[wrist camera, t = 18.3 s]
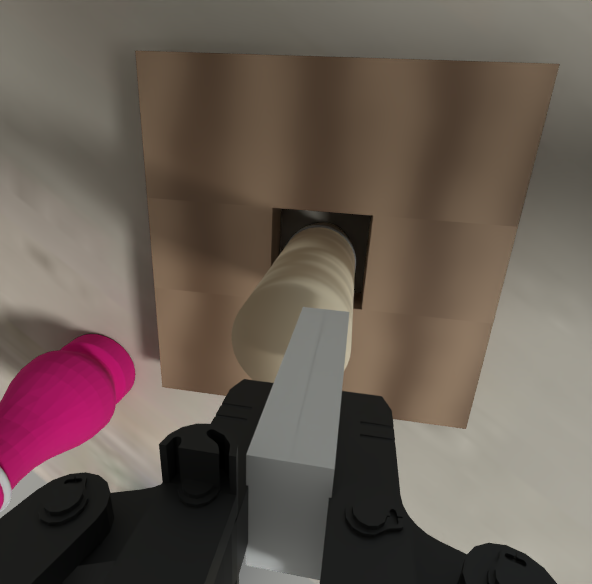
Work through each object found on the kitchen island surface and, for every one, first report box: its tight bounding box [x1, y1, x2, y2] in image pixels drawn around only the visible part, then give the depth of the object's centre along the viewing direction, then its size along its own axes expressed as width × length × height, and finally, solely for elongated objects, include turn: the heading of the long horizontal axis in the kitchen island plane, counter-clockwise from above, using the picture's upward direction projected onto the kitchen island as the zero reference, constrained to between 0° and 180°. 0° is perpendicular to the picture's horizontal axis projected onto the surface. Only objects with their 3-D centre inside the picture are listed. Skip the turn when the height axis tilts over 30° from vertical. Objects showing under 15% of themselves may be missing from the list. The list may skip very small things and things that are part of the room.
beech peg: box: [231, 222, 356, 383], centre depth 21 cm, size 4×4×14 cm
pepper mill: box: [0, 334, 135, 511], centre depth 24 cm, size 7×7×20 cm
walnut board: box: [135, 51, 560, 429], centre depth 26 cm, size 22×22×3 cm
